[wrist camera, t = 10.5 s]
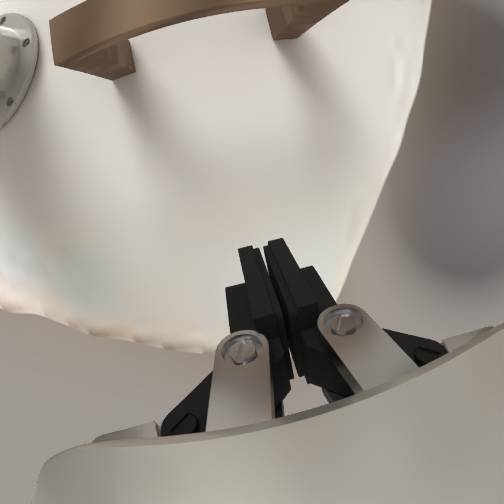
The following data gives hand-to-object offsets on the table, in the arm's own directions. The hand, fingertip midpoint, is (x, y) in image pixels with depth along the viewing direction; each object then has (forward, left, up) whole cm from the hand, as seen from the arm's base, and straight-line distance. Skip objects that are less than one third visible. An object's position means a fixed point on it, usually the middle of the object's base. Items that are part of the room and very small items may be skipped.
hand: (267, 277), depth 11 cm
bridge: (0, +13, -14) cm, 19 cm away
